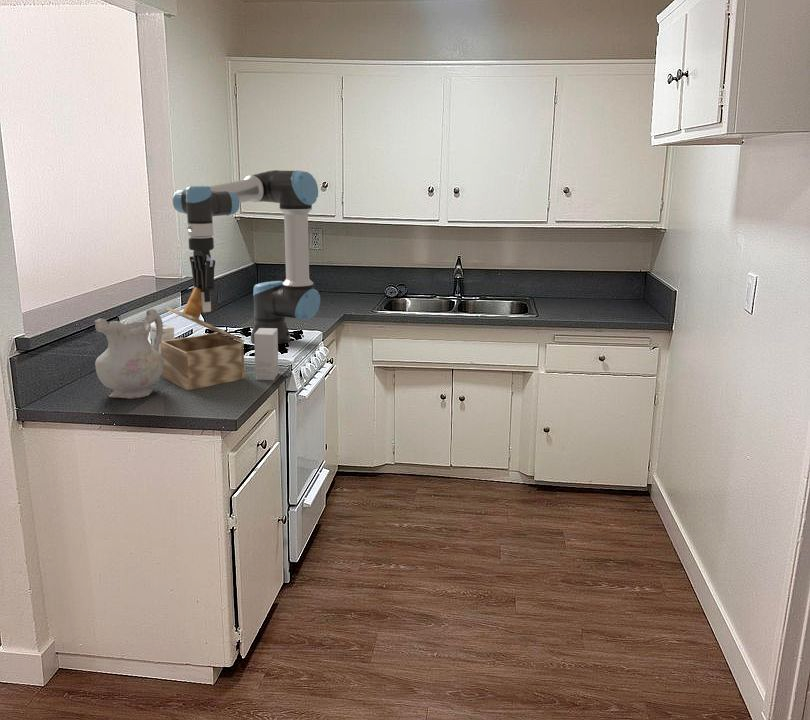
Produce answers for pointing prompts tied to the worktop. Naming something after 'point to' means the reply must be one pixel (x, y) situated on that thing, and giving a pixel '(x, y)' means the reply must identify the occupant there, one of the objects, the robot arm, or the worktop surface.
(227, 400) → the worktop surface
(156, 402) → the worktop surface
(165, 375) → the carton
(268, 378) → the skincare box
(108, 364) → the ceramic pitcher
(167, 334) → the syrup box
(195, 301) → the lid
